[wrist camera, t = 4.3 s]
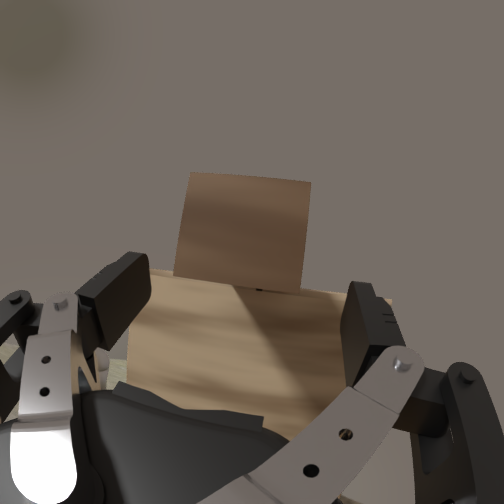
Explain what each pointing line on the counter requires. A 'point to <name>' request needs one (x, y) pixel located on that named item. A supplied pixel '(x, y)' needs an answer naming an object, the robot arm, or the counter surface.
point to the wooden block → (239, 349)
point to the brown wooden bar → (244, 231)
